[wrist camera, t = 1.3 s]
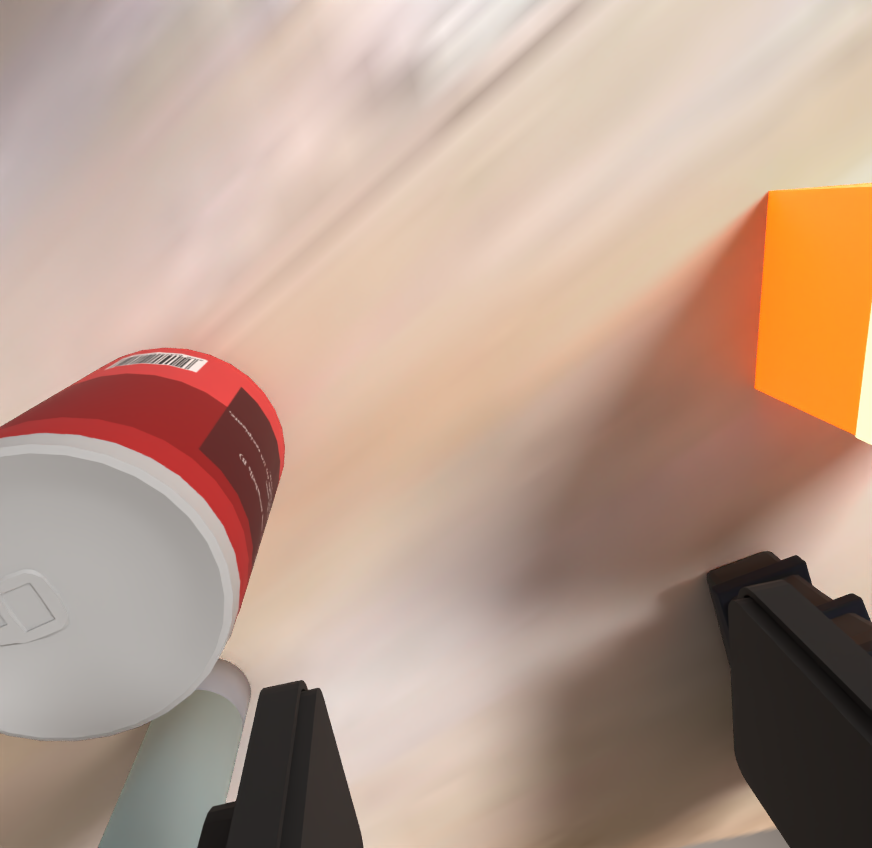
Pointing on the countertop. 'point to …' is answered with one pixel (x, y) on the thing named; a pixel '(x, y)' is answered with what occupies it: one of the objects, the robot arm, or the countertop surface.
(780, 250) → the orange juice
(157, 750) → the peg
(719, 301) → the countertop surface
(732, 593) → the black layered block
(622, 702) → the countertop surface
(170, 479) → the canned food
